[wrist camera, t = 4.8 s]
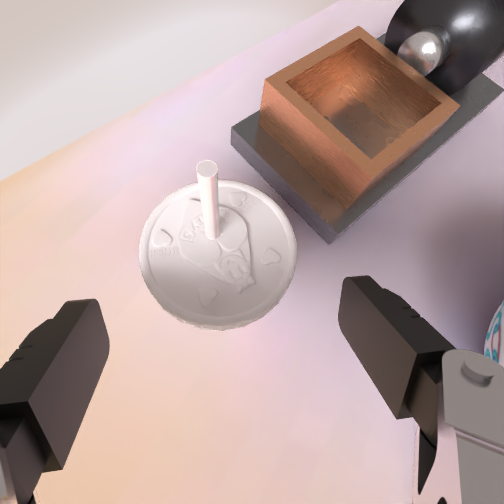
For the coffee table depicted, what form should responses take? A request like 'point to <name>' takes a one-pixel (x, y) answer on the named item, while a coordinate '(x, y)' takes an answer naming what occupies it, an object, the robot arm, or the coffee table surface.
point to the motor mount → (372, 108)
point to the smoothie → (217, 252)
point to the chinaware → (496, 337)
